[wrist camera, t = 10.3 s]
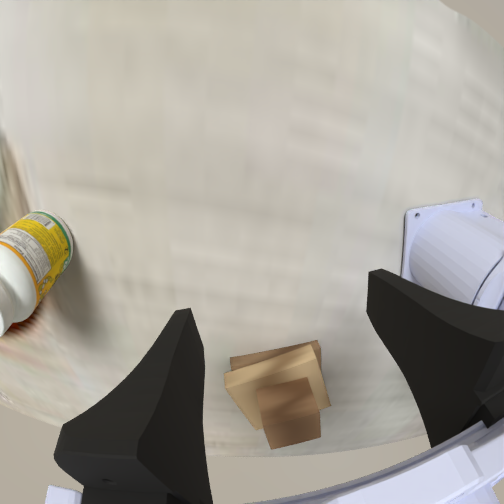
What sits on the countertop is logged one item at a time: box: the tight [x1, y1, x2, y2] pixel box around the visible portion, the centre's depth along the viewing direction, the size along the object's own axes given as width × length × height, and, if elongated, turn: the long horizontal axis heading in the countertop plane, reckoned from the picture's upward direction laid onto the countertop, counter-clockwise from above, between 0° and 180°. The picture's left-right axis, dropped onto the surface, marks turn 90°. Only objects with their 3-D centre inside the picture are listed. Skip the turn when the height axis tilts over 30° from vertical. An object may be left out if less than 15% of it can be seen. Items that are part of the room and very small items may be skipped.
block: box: [256, 377, 321, 449], centre depth 24 cm, size 4×4×4 cm
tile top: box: [224, 344, 331, 430], centre depth 26 cm, size 8×8×2 cm
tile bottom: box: [230, 340, 321, 371], centre depth 28 cm, size 8×8×2 cm
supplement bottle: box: [0, 210, 73, 337], centre depth 15 cm, size 5×5×10 cm
